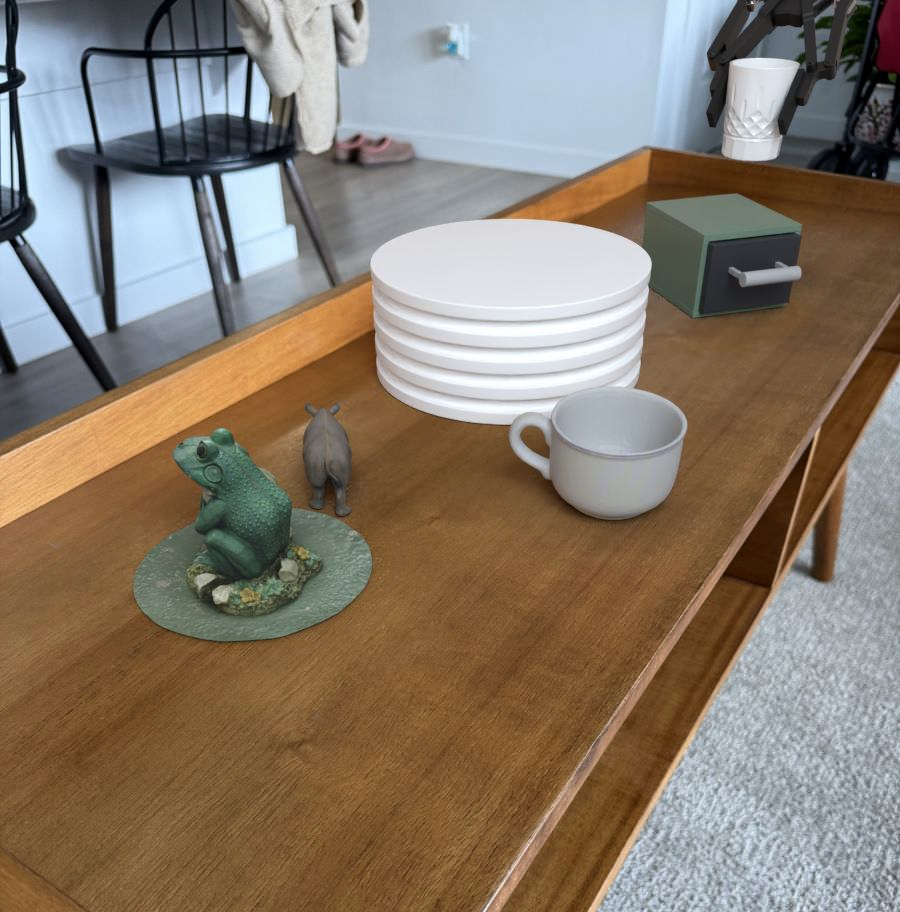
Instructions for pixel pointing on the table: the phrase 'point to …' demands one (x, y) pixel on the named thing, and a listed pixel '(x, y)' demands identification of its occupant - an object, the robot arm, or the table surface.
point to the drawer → (749, 272)
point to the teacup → (608, 449)
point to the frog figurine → (247, 555)
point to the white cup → (755, 107)
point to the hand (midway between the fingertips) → (745, 123)
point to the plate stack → (507, 316)
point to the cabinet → (701, 241)
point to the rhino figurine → (327, 457)
